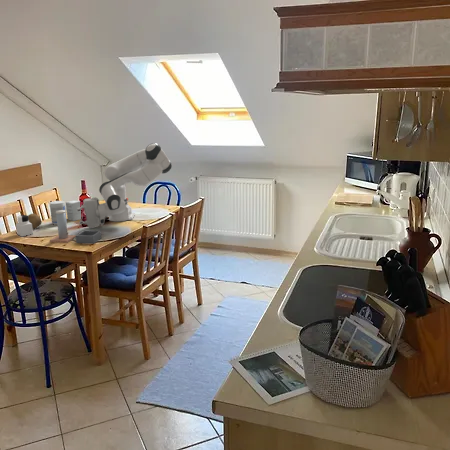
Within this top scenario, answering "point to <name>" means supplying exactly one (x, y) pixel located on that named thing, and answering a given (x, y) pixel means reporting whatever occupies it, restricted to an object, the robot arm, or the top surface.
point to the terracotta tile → (65, 240)
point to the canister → (61, 224)
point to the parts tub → (88, 237)
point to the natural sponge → (34, 220)
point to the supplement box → (73, 210)
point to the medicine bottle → (24, 226)
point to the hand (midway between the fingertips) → (78, 216)
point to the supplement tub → (56, 207)
